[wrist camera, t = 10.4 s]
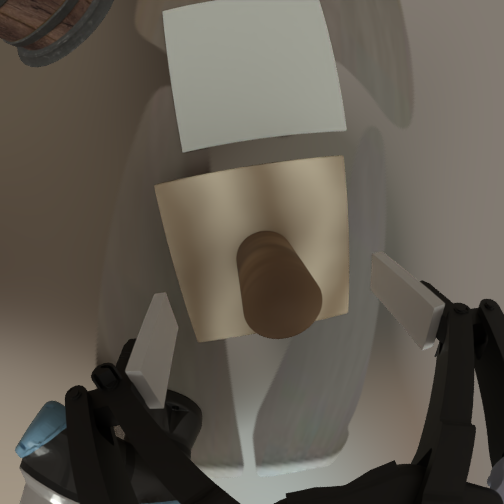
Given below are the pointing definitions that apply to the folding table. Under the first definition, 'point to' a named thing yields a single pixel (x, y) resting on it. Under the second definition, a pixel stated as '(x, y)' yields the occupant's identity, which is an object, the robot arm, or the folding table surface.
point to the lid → (260, 246)
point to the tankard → (49, 26)
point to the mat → (251, 71)
